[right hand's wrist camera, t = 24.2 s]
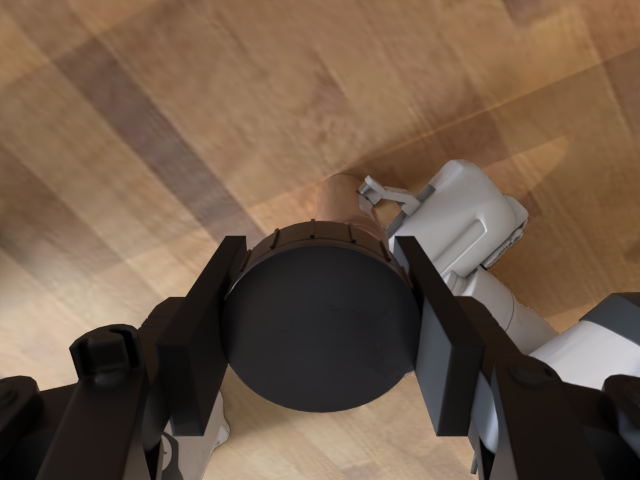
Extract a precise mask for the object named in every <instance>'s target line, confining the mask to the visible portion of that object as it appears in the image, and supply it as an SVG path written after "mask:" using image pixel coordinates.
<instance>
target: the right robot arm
mask: <svg viewBox="0 0 640 480" xmlns="http://www.w3.org/2000/svg"><path fill="white" fill-rule="evenodd" d="M246 254H247V246H246V236H226V237H225V238H224V240H223V241H222V243H221V244H220V246H219V247H218V249H217V250H216V252H215V253H214V255H213V256H212V258H211V259H210V261H209V262H208V264H207V265H206V267H205V268H204V270H203V271H202V273H201V274H200V276H199V277H198V279H197V280H196V282H195V283H194V285H193V286H192V288H191V289H190V291H189V292H188V294H187V296H186V297H169V298H167V299H166V300H164V301H163V302H161V303H160V304H158V305H157V306H156V307H155V308H154V309H153V311H152V312H151V313H150V314H149V316H148V318H146V320H145V321H144V322H143V324H142V325H141V327H139V329H138V330H137V329H136V328H135V327H133V326H131V325H126V324H112V325H107V326H103V327H99V328H97V329H94V330H92V331H90V332H87V333H85V334H84V335H82V336H81V337H79V338H78V339H76V340H75V341H74V342H73V344H72V345H71V346H70V347H69V350H70V353H71V356H72V359H73V362H74V366H75V369H76V372H77V375H78V378H79V380H78V382H77V383H74V384H71V385H67V386H62V387H57V388H53V389H48V390H44V391H40V390H39V388H38V385H37V382H36V381H35V380H34V379H33V378H31V377H28V376H13V377H7V378H4V379H0V480H161V476H162V467H163V458H164V446H163V440H162V434H163V432H164V430H165V428H166V425H167V423H168V421H170V426H171V431H172V436H204V433H205V431H206V428H207V425H208V422H209V419H210V416H211V413H212V410H213V407H214V404H215V401H216V398H217V395H218V392H219V389H220V386H221V383H222V380H223V378H224V375H225V372H226V369H227V366H228V363H229V362H228V361H227V359H226V356H225V353H224V351H223V348H222V343H221V338H220V318H221V313H222V309H223V305H224V303H223V299H224V297H225V295H226V293H227V291H228V289H229V287H230V284H231V282H232V280H233V278H236V276H237V274H238V272H239V269H240V267H241V265H242V262H243V260H244V258H245V256H246ZM393 255H394V256H395V258H396V259H397V261H398V262H399V264H400V266H404V268H405V270H406V272H407V274H408V277H409V279H410V281H411V283H412V285H413V287H414V290H412V292H413V294H414V296H415V298H416V301H417V303H418V306H419V310H420V313H421V322H422V324H421V333H420V341H419V348H418V352H417V355H416V358H415V360H414V362H413V363H412V365H413V368H414V371H415V374H416V377H417V380H418V383H419V386H420V389H421V392H422V395H423V398H424V400H425V403H426V406H427V409H428V412H429V415H430V418H431V421H432V424H433V427H434V430H435V433H436V436H468V432H469V427H470V422H471V419H472V421H473V423H474V425H475V427H476V430H477V432H478V434H479V436H478V440H477V445H476V449H475V454H474V458H473V463H472V468H471V473H472V474H476V471H477V467H478V475H479V480H640V377H636V376H631V375H624V374H617V375H610V376H609V377H608V378H606V379H605V380H604V383H603V386H602V389H601V390H599V389H595V388H590V387H585V386H581V385H576V384H572V383H568V382H564V381H562V379H561V378H560V376H559V375H558V374H557V372H556V371H555V370H554V369H553V368H551V367H550V366H549V365H548V364H546V363H545V362H543V361H541V360H539V359H537V358H535V357H532V356H528V355H524V354H522V352H521V351H520V350H519V349H518V347H517V346H516V345H515V343H514V342H513V341H512V340H511V338H510V337H509V336H508V334H507V333H506V332H505V331H504V329H503V328H502V327H501V326H499V323H498V322H497V320H496V319H495V318H494V317H492V314H491V313H490V311H489V310H488V309H487V307H486V306H485V305H484V304H482V303H481V302H479V301H478V300H476V299H475V298H473V297H472V296H454V295H453V294H452V292H451V291H450V289H449V288H448V286H447V285H446V283H445V282H444V280H443V279H442V277H441V275H440V274H439V272H438V271H437V269H436V268H435V266H434V265H433V263H432V262H431V260H430V259H429V257H428V256H427V254H426V253H425V251H424V250H423V248H422V247H421V245H420V244H419V242H418V241H417V239H416V238H415V236H394V248H393Z"/></svg>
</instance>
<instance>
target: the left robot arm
mask: <svg viewBox="0 0 640 480" xmlns="http://www.w3.org/2000/svg"><path fill="white" fill-rule="evenodd" d="M357 189H358V191H359V192H360V193H361V194H362V195H363V196H364V197H367V198H368V200H369V201H370V202H371V203H372V204H374V205H375V204H376V203H377V202H378V201H379V200H380V199H381V198H382V199H388V200H393V201H396V203H397V204H398V205H399V207H400V208H401V209H402V211H401V212H400V213H399V214H398V215H397V216H396V217H395V218H394V220H393V221H392V222H391V223H390V224H389V225H388V226H387V227H386V228H385V229H384V230H385V232H386V234H387V237H388V240H389V250H390V251H391V252H392V253H393V248H394V236H415V238H416V239H417V241H418V242H419V244H420V245H421V247H422V248H423V250H424V251H425V253H426V254H427V256H428V257H429V259H430V260H431V262H432V263H433V265H434V266H435V268H436V269H437V271H438V272H439V274H440V275H441V277H442V279H443V280H444V282H445V283H446V285H447V286H448V288H449V289H450V291H451V292H452V294H453V295H454V296H472V297H473V298H475V299H476V300H478V301H479V302H481V303H482V304H484V305H485V306H486V307H487V309H488V310H489V311H490V313H491V314H492V317H494V318H495V319H496V320H497V322H498V323H499V326H501V327H502V328H503V329H504V331H505V332H506V333H507V334H508V336H509V337H510V338H511V340H512V341H513V342H514V343H515V345H516V346H517V347H518V349H519V350H520V351H521V352H522V354H524V355H528V356H532V357H535V358H537V359H539V360H541V361H543V362H545V363H546V364H548V365H549V366H550V367H551V368H553V369H554V370H555V371H556V372H557V374H558V375H559V376H560V378H561V379H562V381H564V382H568V383H572V384H576V385H581V386H585V387H590V388H595V389H599V390H601V389H602V386H603V383H604V380H605V379H606V378H608V377H609V376H610V375H617V374H624V375H631V376H636V377H640V292H624V293H612V294H610V295H609V296H608V297H607V298H605V299H604V300H603V301H602V302H600V303H599V304H598V305H597V306H595V307H594V308H593V309H592V310H590V311H589V312H588V313H587V314H585V315H584V316H583V317H582V318H580V319H579V322H578V323H576V324H575V325H573V326H572V327H570V328H569V329H567V330H566V331H564V332H563V333H561V334H559V333H558V332H557V331H556V330H555V329H554V328H553V327H552V326H551V325H550V324H549V323H548V322H547V321H546V320H545V319H543V318H542V317H541V316H540V315H539V314H538V313H536V312H535V311H534V310H532V309H531V308H529V307H527V306H524V305H522V304H520V303H518V302H517V300H516V298H515V296H514V295H513V293H512V292H511V291H510V290H509V289H508V288H507V287H506V286H505V285H504V284H502V283H501V282H500V281H499V280H498V279H497V278H495V277H494V276H493V275H492V274H491V273H490V272H489V271H488V270H487V269H488V268H489V267H490V266H492V265H493V264H494V263H495V262H496V261H497V260H498V259H499V258H500V257H501V256H502V254H504V252H506V250H507V249H508V248H509V247H511V246H512V245H513V244H515V243H517V242H518V241H519V240H520V239H521V238H522V237H523V235H524V234H525V232H524V231H523V230H524V228H525V227H526V225H527V222H528V216H529V214H528V212H527V210H526V208H525V207H524V206H523V205H522V204H521V203H520V202H519V201H518V200H517V199H516V198H515V197H513V196H511V195H509V194H502V193H501V192H500V190H499V189H498V188H497V186H496V185H495V184H494V183H493V182H492V180H491V179H490V178H489V177H488V176H487V175H486V174H485V173H484V172H483V171H482V170H481V169H480V168H479V167H478V166H477V165H475V164H474V163H472V162H470V161H468V160H464V159H455V160H450V161H448V162H447V163H446V164H445V165H444V166H443V167H442V168H441V170H440V171H439V172H438V173H437V174H436V175H435V176H434V177H433V178H432V179H431V180H430V181H429V182H428V183H427V184H426V185H425V187H424V188H423V189H422V190H421V191H420V192H419V193H418V194H417V195H416V196H415V197H414V196H413V195H412V194H411V193H410V192H409V191H407V190H406V189H400V188H393V187H387V186H384V187H383V186H381V185H380V184H379V183H378V182H377V181H376V180H374V179H373V178H372V177H371V176H369V175H368V176H367V177H366V178H365V180H364V181H363V182H362V183H361V184H360V185H359V186H358V188H357ZM519 226H520V227H519ZM413 372H415V371H414V368H413V365H411V367H410V369H409V370H408V371H407V373H406V374H405V376H407V375H409V374H411V373H413ZM405 376H404V377H405ZM229 434H230V428H229V425H228V423H227V422H226V420H225V418H224V414H223V399H222V395H221V392H220V390H219V392H218V395H217V398H216V401H215V404H214V407H213V410H212V413H211V416H210V419H209V422H208V425H207V428H206V431H205V433H204V436H172V431H171V426H170V421H168V423H167V425H166V428H165V430H164V432H163V434H162V440H163V446H164V458H163V467H162V476H161V480H202V478H203V475H204V473H205V470H206V467H207V465H208V462H209V460H210V457H211V455H212V452H213V449H214V448H216V447H217V446H219V445H220V444H222V443H224V442H225V441H226V440H227V439H228V436H229ZM478 436H479V434H478V432H477V430H476V427H475V425H474V423H473V421H472V419H471V422H470V427H469V432H468V438H469V440H470V443H471V445H472V447H473V449H474V451H475V449H476V445H477V440H478Z"/></svg>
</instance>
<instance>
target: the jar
mask: <svg viewBox="0 0 640 480" xmlns="http://www.w3.org/2000/svg"><path fill="white" fill-rule="evenodd" d="M361 183H362V182H361V181H360V180H359V179H357V178H356V177H354V176H352V175H348V174H337V175H334V176H331V177H330V178H328V179H327V180H326V181H324V183H323V184H322V185H321V187H320V189H319V191H318V196H317V211H316V221H333V222H339V223H344V224H347V225H348V224H349V223H352V224H353V226H354V227H357V228H359V229H361V230H363V231H366V232H367V233H369V234H371V235H372V236H374V237H375V238H377V239H378V240H379V241H381V240H383V241H384V242H385V244H386V247H387V248H388V249H389V240H388V237H387V234H386V232H385V230H384V228H383V226H382V224H381V221H380V219H379V217H378V215H377V213H376V210H375V208H374V206H373V204H372V203H371V202H370V201H369V200H368V198H367V197H364V196H363V195H362V194H361V193H360V192H359V191H358V189H357V188H358V186H359V185H360V184H361Z"/></svg>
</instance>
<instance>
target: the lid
mask: <svg viewBox="0 0 640 480" xmlns="http://www.w3.org/2000/svg"><path fill="white" fill-rule="evenodd" d="M412 290H414V287H413V285H412V283H411V281H410V279H409V277H408V274H407V272H406V270H405V268H404V266H400V264H399V262H398V261H397V259H396V258H395V256H394V255H393V253H392V252H391V251H390V250H389V249H388V248H387V247H386V244H385V242H384V241H383V240H381V241H379V240H378V239H377V238H375V237H374V236H372V235H371V234H369V233H367V232H366V231H363V230H361V229H359V228H357V227H354V226H353V224H352V223H349V224H348V225H347V224H344V223H339V222H333V221H315V219H311V221H309V222H303V223H298V224H294V225H291V226H288V227H285V228H282V229H280V230H279V229H278V228H277V229H275V231H274V233H272V234H271V235H269V236H268V237H266V238H265V239H263V240H262V241H261V242H260V243H259V244H258V245H256V246H255V247H254V248H253V250H250V249H249V250H248V252H247V254H246V256H245V258H244V260H243V262H242V265H241V267H240V269H239V272H238V274H237V276H236V278H233V280H232V282H231V284H230V287H229V289H228V291H227V293H226V295H225V297H224V299H223V303H224V305H223V309H222V313H221V318H220V338H221V343H222V348H223V351H224V353H225V356H226V359H227V361H228V362H229V364H230V366H231V368H232V369H233V371H234V372H235V373H236V375H237V376H238V377H239V378H240V379H241V380H242V381H243V382H244V383H245V384H246V386H248V387H249V388H250V389H251V390H253V391H254V392H255V393H257V394H258V395H260V396H262V397H263V398H265V399H267V400H269V401H271V402H273V403H275V404H278V405H280V406H283V407H286V408H290V409H294V410H298V411H305V412H318V413H325V412H337V411H343V410H348V409H352V408H355V407H359V406H361V405H364V404H366V403H369V402H371V401H373V400H375V399H377V398H379V397H380V396H382V395H383V394H385V393H386V392H388V391H389V390H390V389H391V388H393V387H394V386H395V385H396V384H397V383H398V382H399V381H400V380H401V379H402V378H403V377H404V376H405V374H406V373H407V371H408V370H409V369H410V367H411V365H412V363H413V362H414V360H415V358H416V355H417V352H418V348H419V341H420V333H421V324H422V322H421V313H420V310H419V306H418V303H417V301H416V298H415V296H414V294H413V292H412Z"/></svg>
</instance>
